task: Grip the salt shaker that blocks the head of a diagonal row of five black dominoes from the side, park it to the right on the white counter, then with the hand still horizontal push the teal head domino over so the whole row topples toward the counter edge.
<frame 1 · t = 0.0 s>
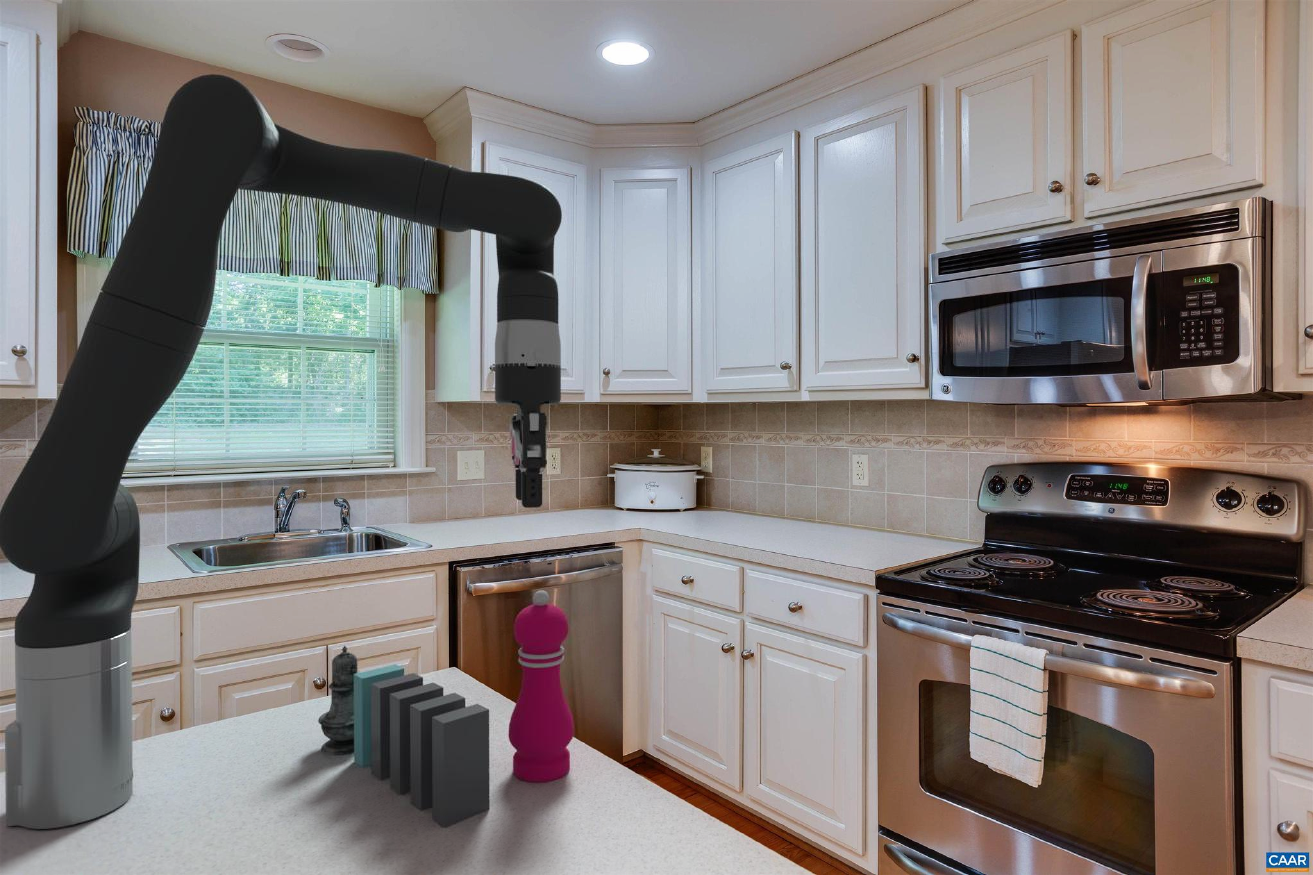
hand: (528, 503, 87), 29 cm above the countertop, tool pointing down, fingers open, 8 cm apart
domino 1: (379, 757, 87), on the countertop
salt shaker: (345, 747, 90), on the countertop
domino 3: (417, 783, 80), on the countertop
domino 2: (397, 770, 83), on the countertop
domino 5: (461, 814, 74), on the countertop
pepper mill: (541, 771, 83), on the countertop
domino 4: (438, 798, 77), on the countertop
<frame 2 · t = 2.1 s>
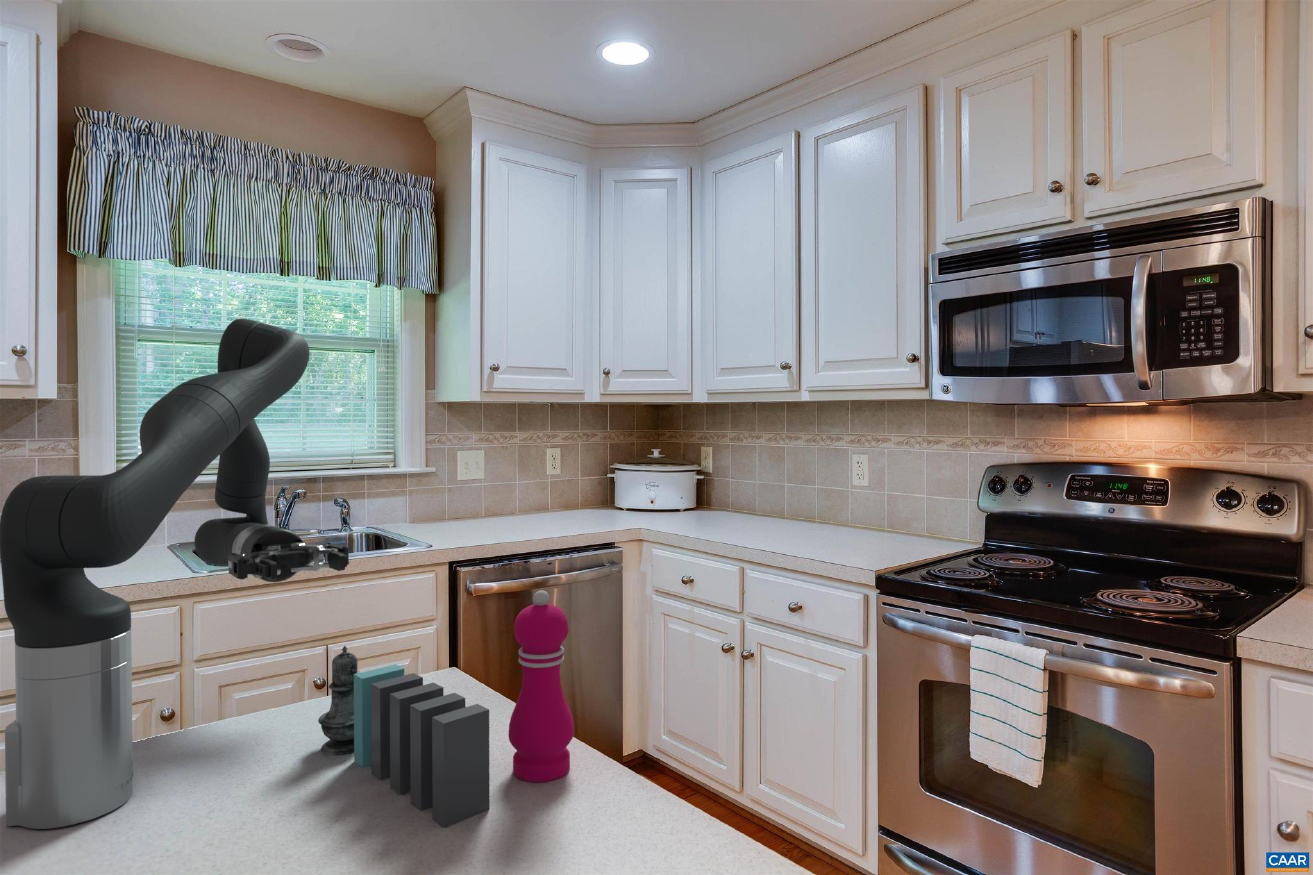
hand: (309, 567, 97), 20 cm above the countertop, tool horizontal, fingers open, 8 cm apart
nothing on the countertop moved.
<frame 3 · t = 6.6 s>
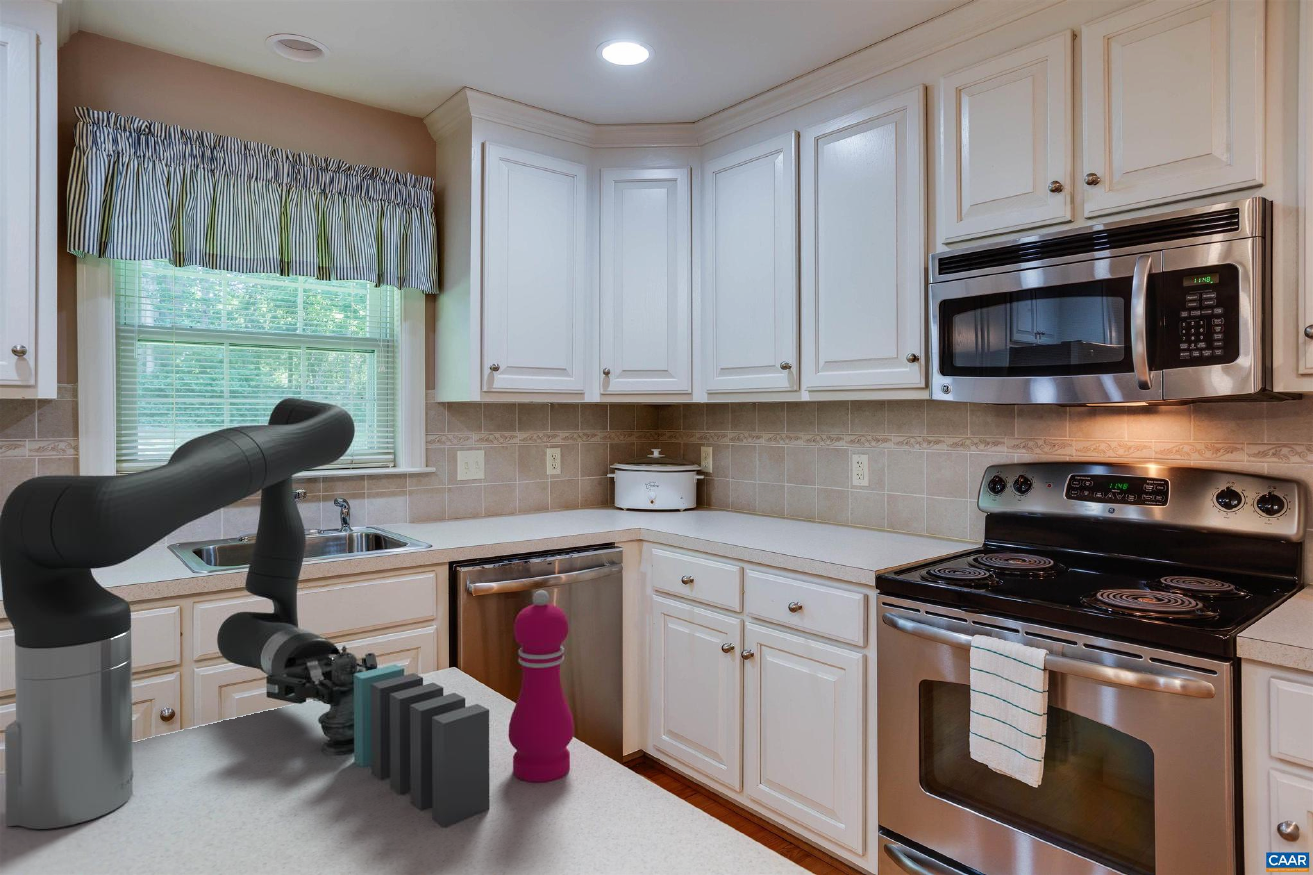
hand: (355, 692, 88), 7 cm above the countertop, tool horizontal, fingers closed on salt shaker, 3 cm apart
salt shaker: (345, 746, 90), on the countertop, touching gripper
everything else where it was.
when the fingers open (8 cm above the countertop, at t = 11.1 s): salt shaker stays where it is, on the countertop.
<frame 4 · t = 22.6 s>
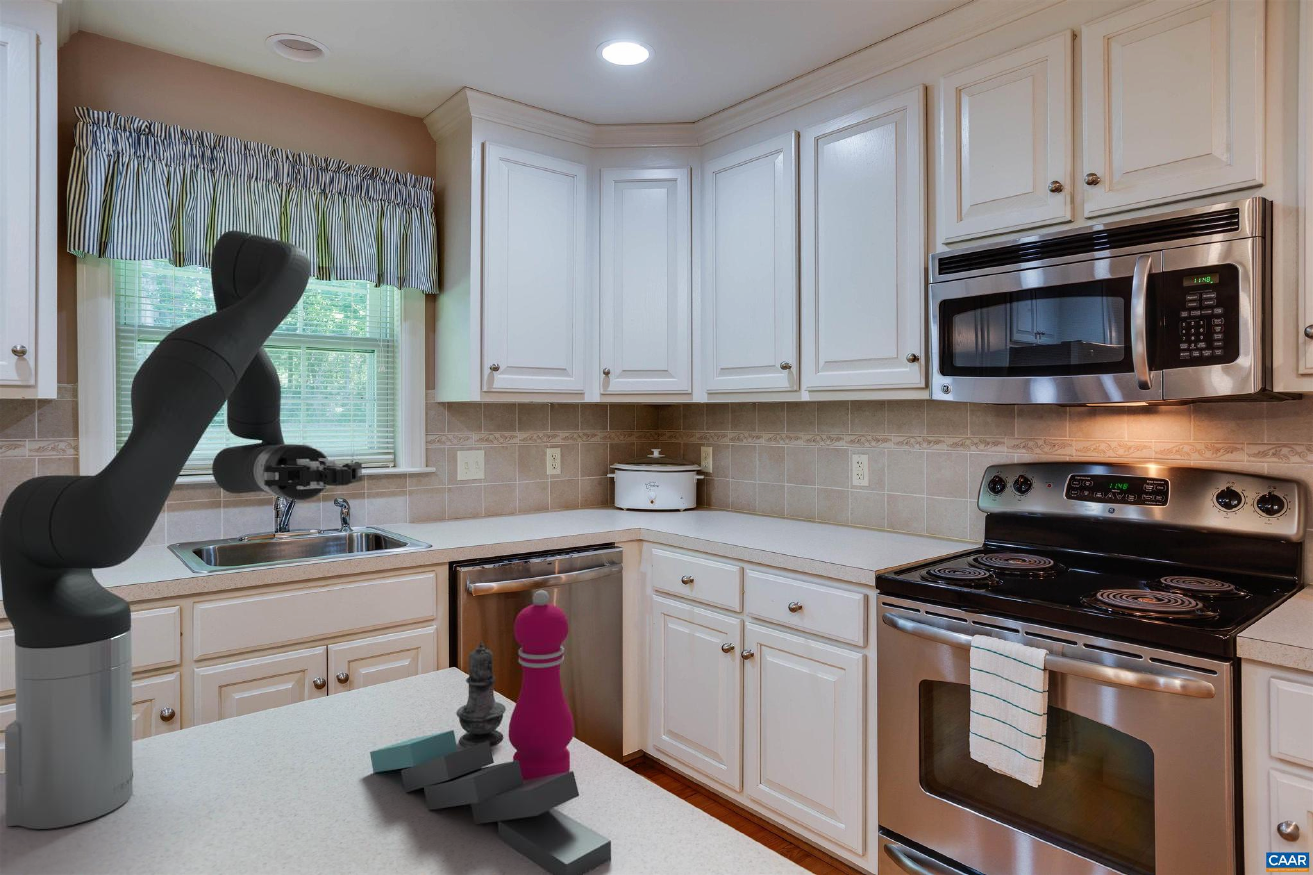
hand: (342, 476, 92), 32 cm above the countertop, tool horizontal, fingers closed
domino 1: (393, 755, 85), point 1 cm above the countertop, tilted 68°, touching domino 2
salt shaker: (481, 740, 92), on the countertop
domino 3: (448, 789, 77), point 1 cm above the countertop, tilted 66°, touching domino 2
domino 2: (425, 773, 80), point 1 cm above the countertop, tilted 64°, touching domino 1, domino 3
domino 5: (520, 822, 71), point 1 cm above the countertop, tilted 90°, touching domino 4
domino 4: (494, 802, 74), point 1 cm above the countertop, tilted 66°, touching domino 5
everything else where it was.
at the end: domino 5 tilted 90°; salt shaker inside the target area (0.2 cm from its centre), on the countertop; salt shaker tilted 0° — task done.
